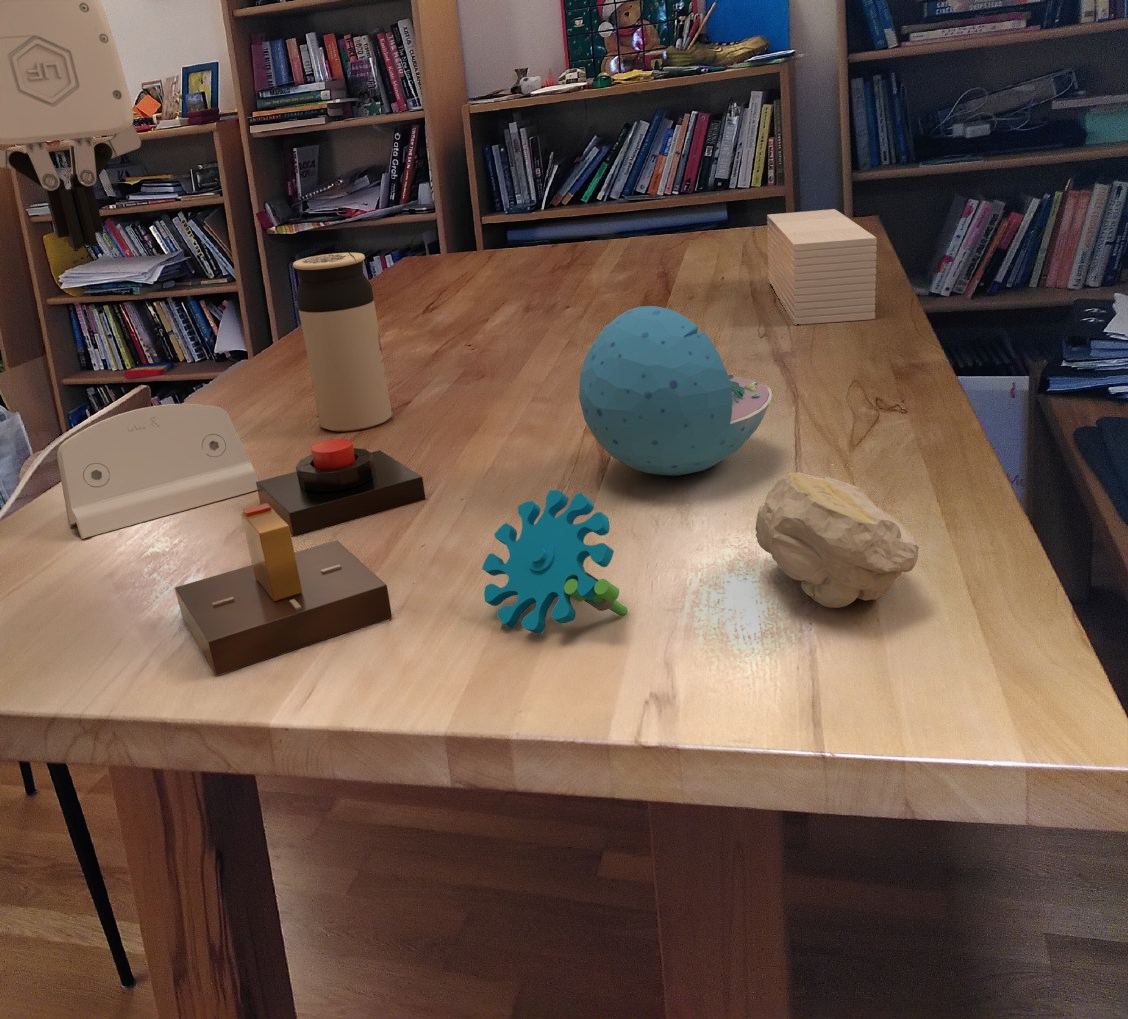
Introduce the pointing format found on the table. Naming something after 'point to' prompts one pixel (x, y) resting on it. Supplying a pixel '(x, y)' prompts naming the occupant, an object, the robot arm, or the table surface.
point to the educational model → (665, 395)
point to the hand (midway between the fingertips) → (83, 245)
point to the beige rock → (833, 539)
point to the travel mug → (342, 342)
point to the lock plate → (281, 608)
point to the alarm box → (340, 491)
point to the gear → (551, 564)
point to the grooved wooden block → (822, 266)
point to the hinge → (151, 466)
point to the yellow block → (271, 551)
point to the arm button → (333, 453)
